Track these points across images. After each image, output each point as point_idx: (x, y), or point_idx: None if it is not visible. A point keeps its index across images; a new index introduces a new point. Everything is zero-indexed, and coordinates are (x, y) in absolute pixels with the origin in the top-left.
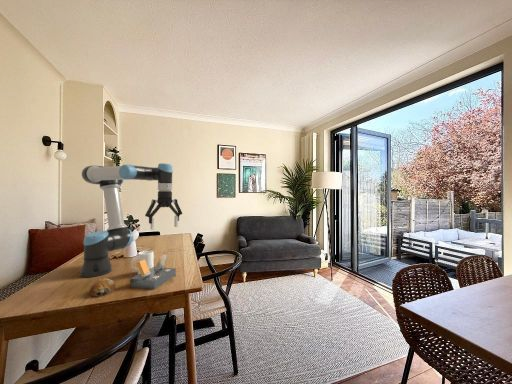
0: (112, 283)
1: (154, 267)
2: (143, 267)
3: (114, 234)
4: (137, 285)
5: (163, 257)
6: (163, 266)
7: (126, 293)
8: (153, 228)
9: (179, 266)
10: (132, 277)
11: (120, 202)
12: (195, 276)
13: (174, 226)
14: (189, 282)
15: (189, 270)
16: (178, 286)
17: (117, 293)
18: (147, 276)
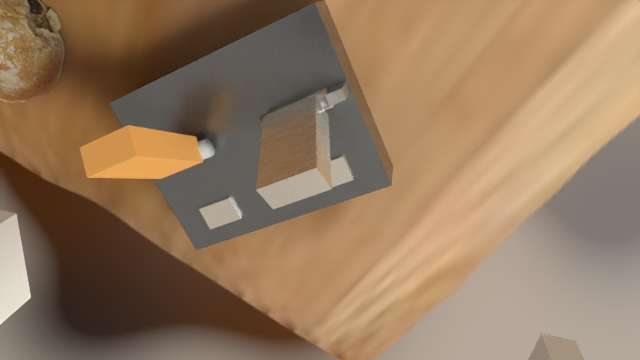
0: (20, 88)
1: (306, 27)
2: (140, 174)
3: None
4: None
5: (283, 202)
6: (348, 94)
7: None
8: (9, 310)
9: (554, 19)
10: (123, 96)
11: None
12: (452, 273)
13: (538, 341)
14: (371, 302)
15: (517, 166)
16: (306, 292)
17: (71, 122)
18: None
